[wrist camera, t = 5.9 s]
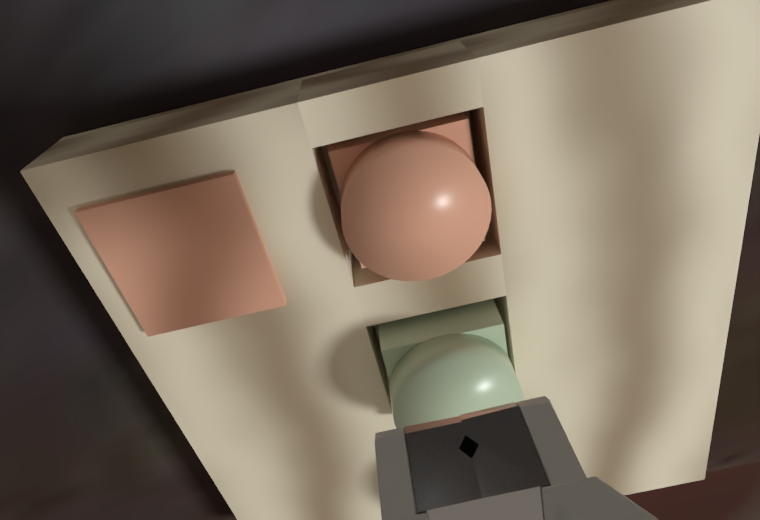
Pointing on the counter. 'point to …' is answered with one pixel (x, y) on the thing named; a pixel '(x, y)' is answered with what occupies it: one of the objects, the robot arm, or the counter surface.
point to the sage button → (448, 363)
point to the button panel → (459, 287)
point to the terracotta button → (412, 198)
